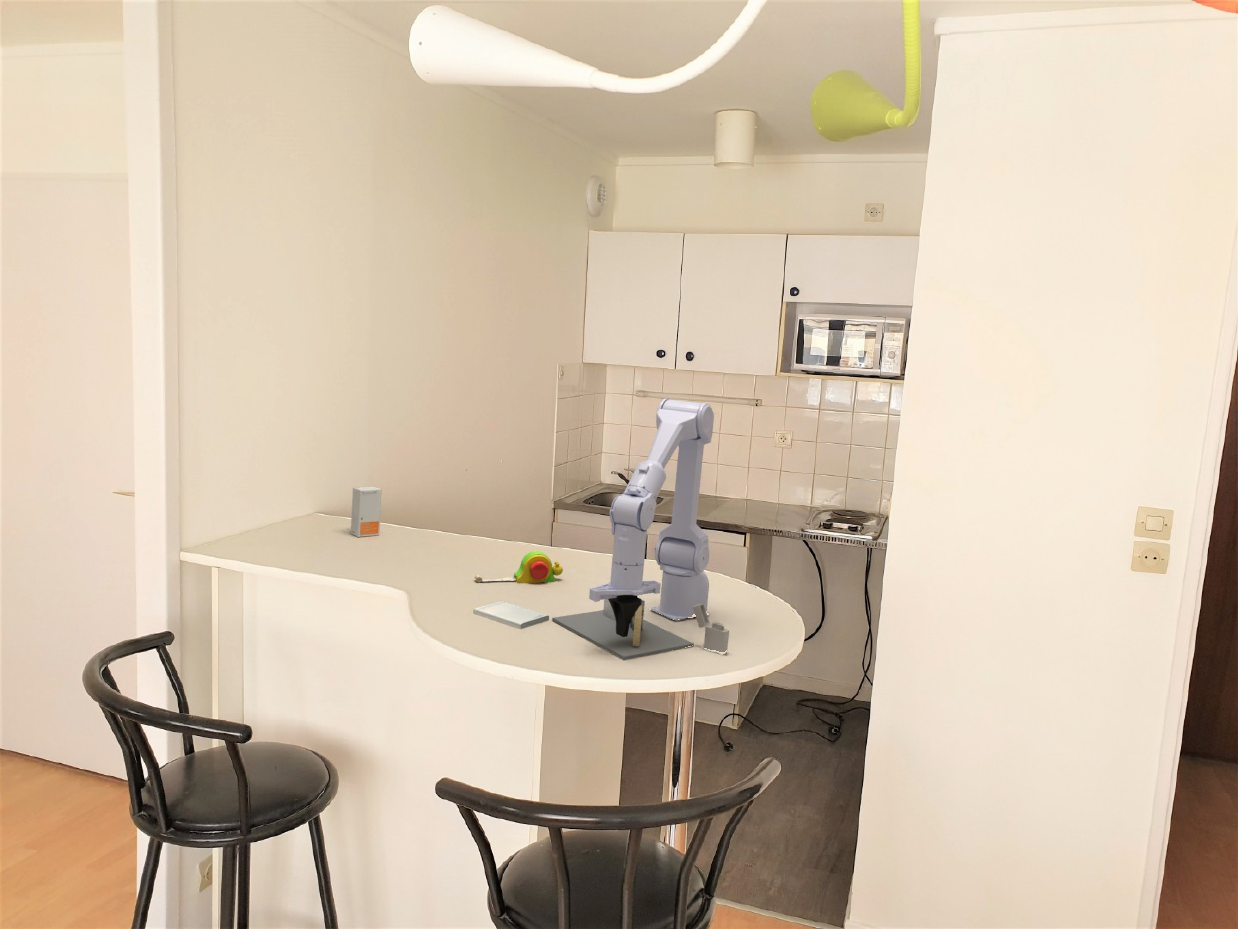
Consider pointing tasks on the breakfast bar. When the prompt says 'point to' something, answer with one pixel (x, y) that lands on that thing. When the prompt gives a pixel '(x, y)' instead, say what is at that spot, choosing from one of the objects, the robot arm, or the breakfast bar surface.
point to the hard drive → (511, 614)
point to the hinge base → (603, 634)
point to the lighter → (712, 630)
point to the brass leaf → (638, 624)
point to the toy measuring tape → (532, 570)
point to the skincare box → (366, 511)
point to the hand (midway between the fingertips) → (621, 635)
